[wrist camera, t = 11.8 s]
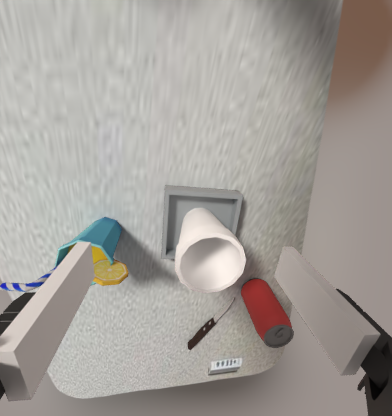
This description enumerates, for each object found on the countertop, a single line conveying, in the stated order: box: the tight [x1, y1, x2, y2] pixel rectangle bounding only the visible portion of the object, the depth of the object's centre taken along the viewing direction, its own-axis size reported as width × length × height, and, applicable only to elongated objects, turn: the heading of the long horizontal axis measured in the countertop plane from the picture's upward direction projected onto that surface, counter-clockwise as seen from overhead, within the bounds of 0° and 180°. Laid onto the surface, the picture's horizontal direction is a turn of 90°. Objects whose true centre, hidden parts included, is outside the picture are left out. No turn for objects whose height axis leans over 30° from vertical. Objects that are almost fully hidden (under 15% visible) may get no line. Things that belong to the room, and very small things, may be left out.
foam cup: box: [175, 208, 246, 293], centre depth 32 cm, size 10×9×13 cm
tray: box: [161, 185, 243, 259], centre depth 37 cm, size 14×14×3 cm
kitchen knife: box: [188, 298, 235, 350], centre depth 48 cm, size 18×1×2 cm, turn 143°
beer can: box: [241, 279, 294, 348], centre depth 41 cm, size 7×7×12 cm
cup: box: [0, 217, 128, 292], centre depth 30 cm, size 14×8×15 cm, turn 90°
